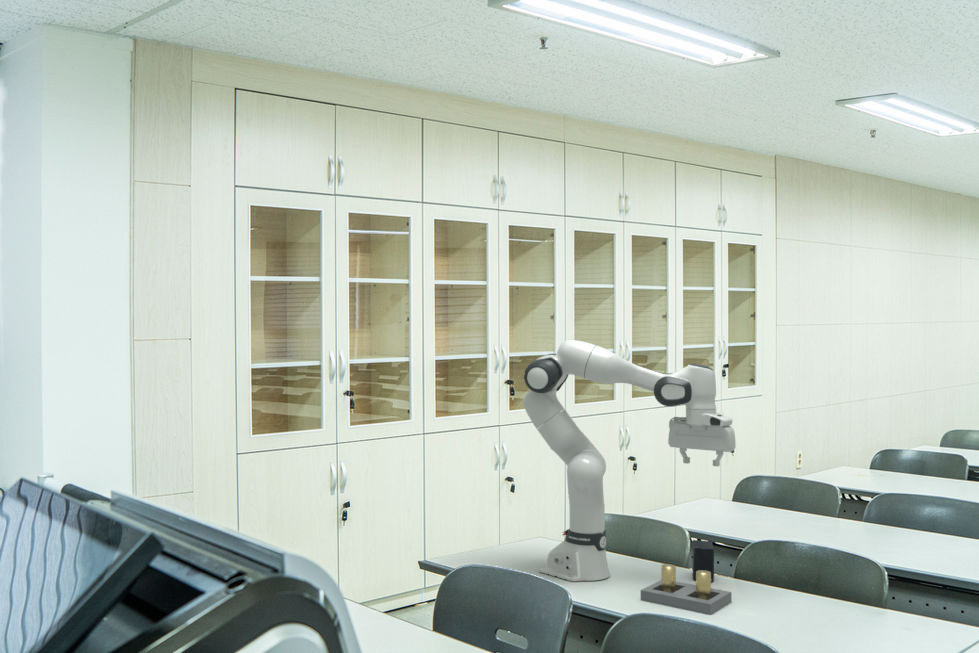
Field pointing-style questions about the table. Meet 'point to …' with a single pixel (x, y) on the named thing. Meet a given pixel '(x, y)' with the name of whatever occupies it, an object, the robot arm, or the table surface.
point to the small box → (703, 557)
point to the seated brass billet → (668, 578)
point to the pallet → (686, 598)
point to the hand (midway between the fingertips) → (701, 464)
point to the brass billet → (703, 584)
